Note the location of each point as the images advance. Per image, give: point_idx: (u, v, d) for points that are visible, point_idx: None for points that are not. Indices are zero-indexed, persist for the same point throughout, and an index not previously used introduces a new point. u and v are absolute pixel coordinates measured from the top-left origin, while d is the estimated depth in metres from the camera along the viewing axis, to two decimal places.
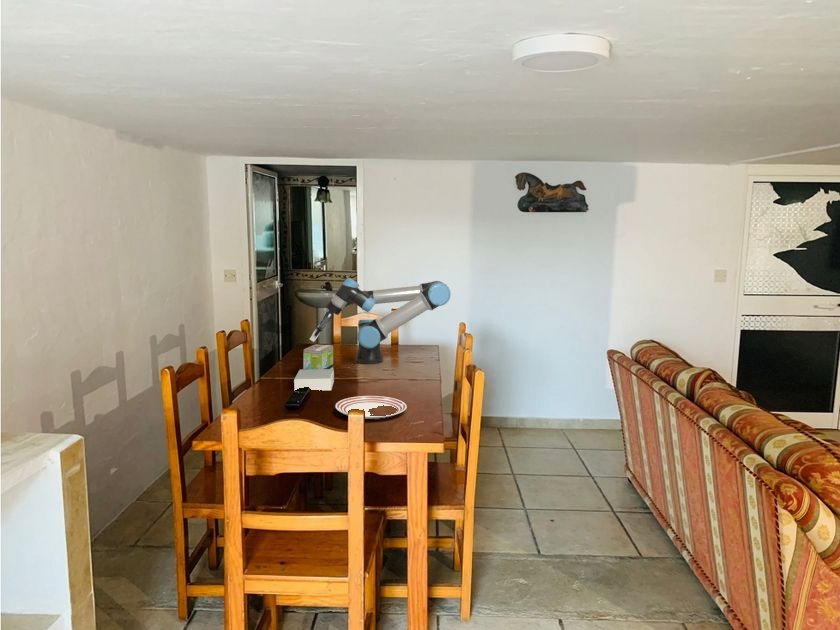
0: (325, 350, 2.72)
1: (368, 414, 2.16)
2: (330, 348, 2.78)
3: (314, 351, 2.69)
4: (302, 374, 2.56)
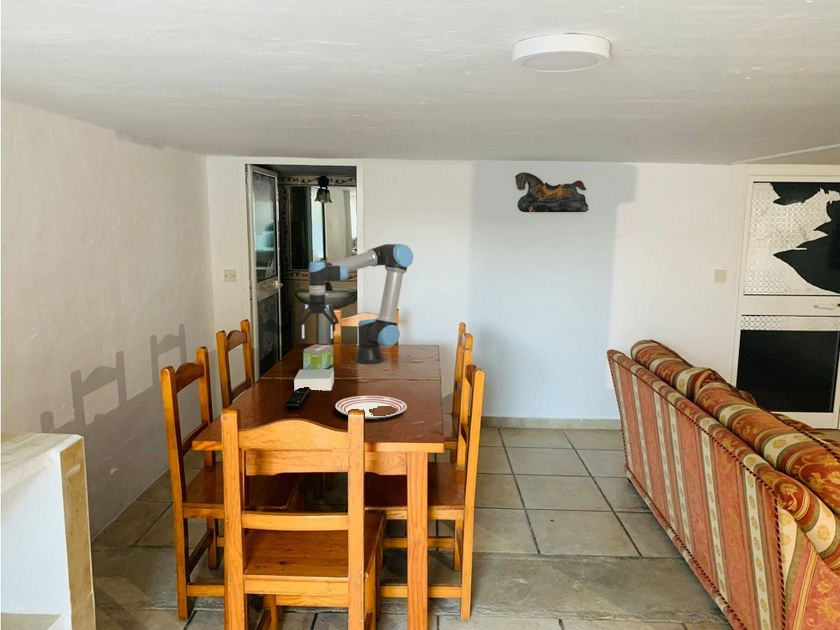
0: (325, 350, 2.72)
1: (368, 414, 2.16)
2: (330, 348, 2.78)
3: (314, 351, 2.69)
4: (302, 374, 2.56)
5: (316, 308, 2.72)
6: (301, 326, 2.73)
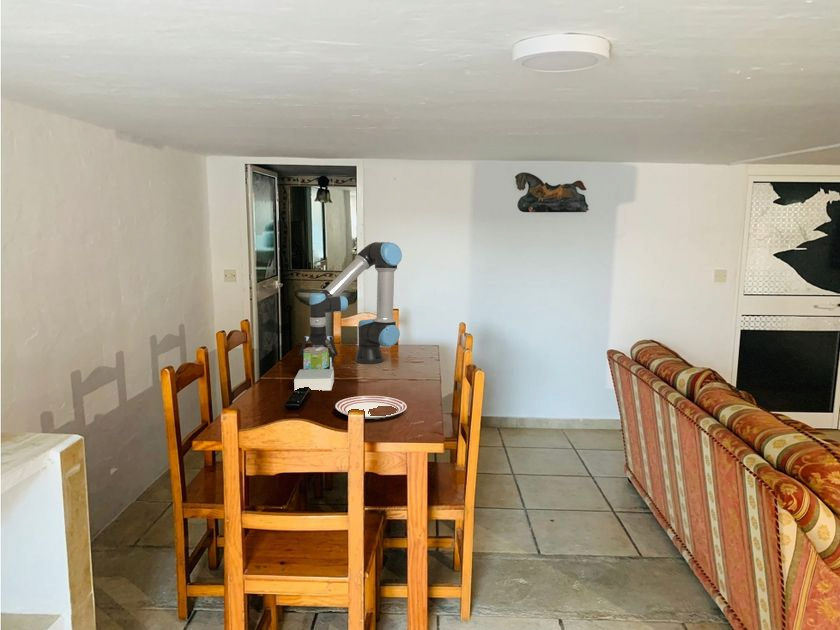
0: (325, 350, 2.72)
1: (368, 414, 2.16)
2: (330, 348, 2.78)
3: (314, 351, 2.69)
4: (302, 374, 2.56)
5: (317, 339, 2.74)
6: None
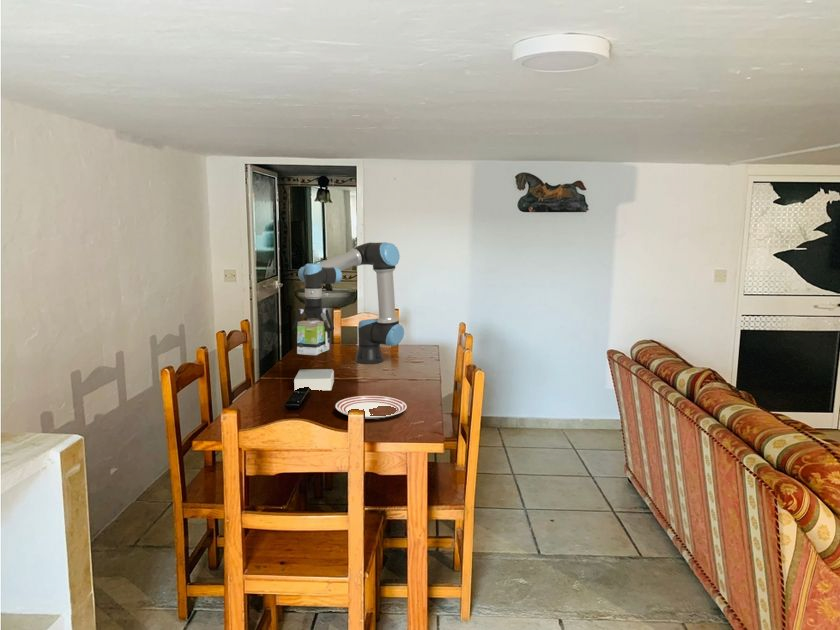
0: (320, 323, 2.56)
1: (368, 414, 2.16)
2: (326, 322, 2.62)
3: (309, 324, 2.53)
4: (302, 374, 2.56)
5: (312, 312, 2.58)
6: None
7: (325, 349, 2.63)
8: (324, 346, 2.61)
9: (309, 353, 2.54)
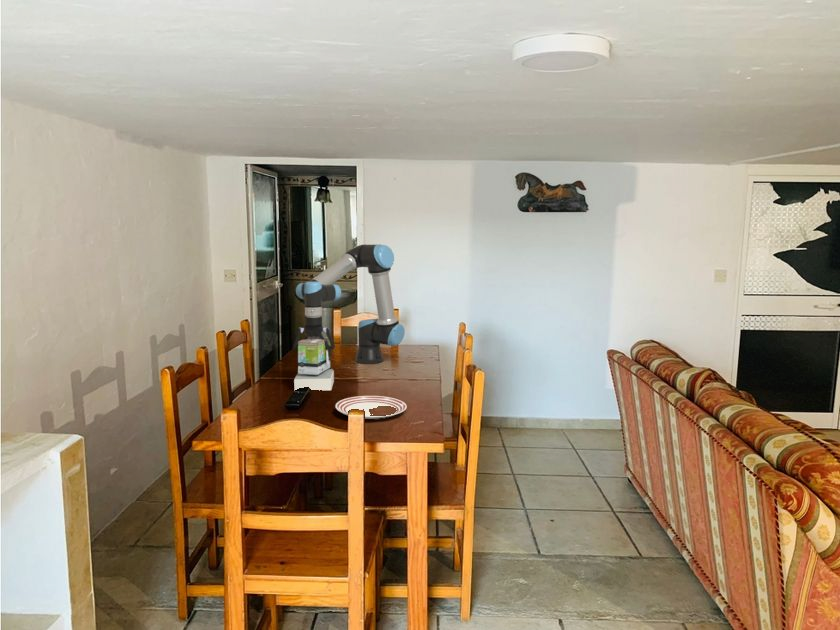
0: (321, 342, 2.53)
1: (368, 414, 2.16)
2: (327, 340, 2.60)
3: (309, 343, 2.50)
4: (302, 374, 2.56)
5: (312, 331, 2.55)
6: None
7: (326, 367, 2.60)
8: (325, 365, 2.59)
9: (310, 373, 2.52)
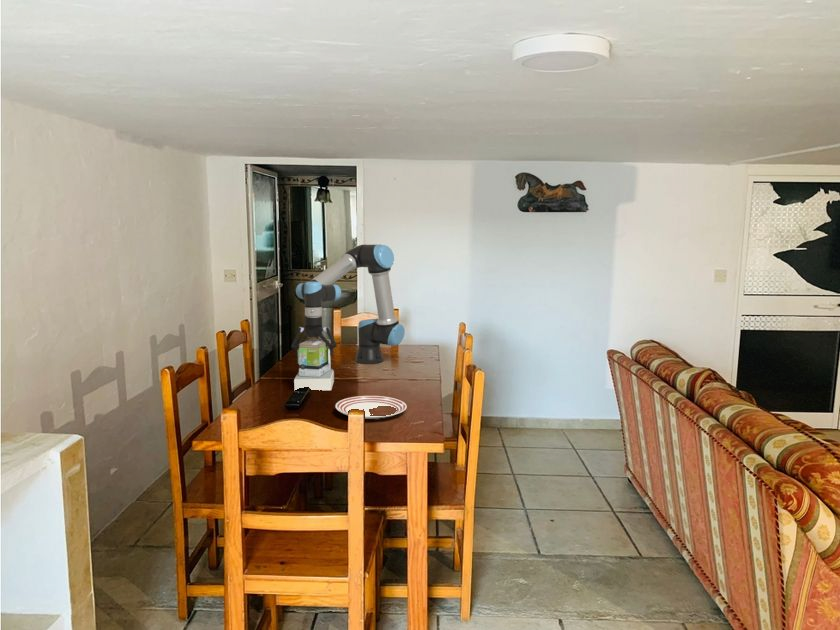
0: (322, 344, 2.53)
1: (368, 414, 2.16)
2: None
3: (311, 345, 2.50)
4: None
5: (312, 331, 2.55)
6: (297, 350, 2.57)
7: (327, 370, 2.60)
8: (326, 367, 2.59)
9: (311, 375, 2.52)
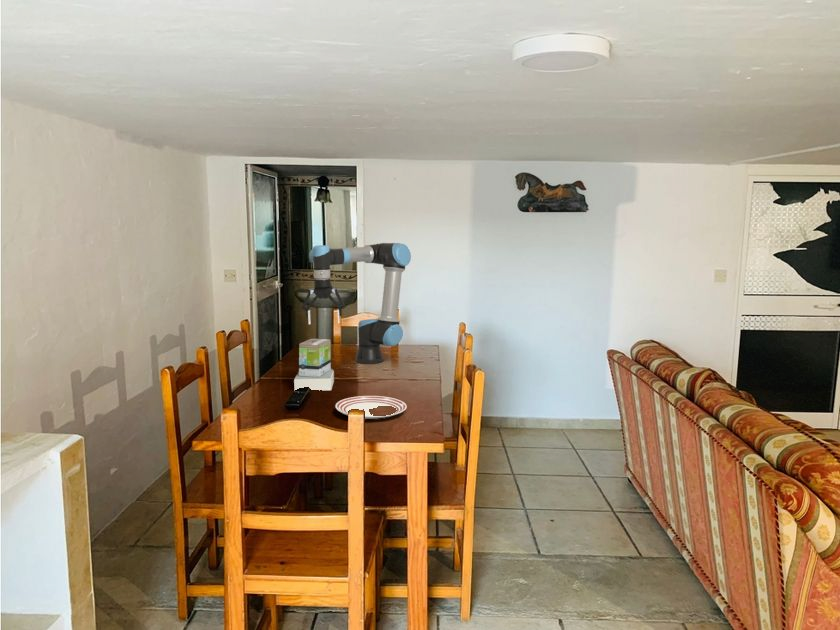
0: (322, 344, 2.53)
1: (368, 414, 2.16)
2: (327, 342, 2.60)
3: (311, 345, 2.50)
4: None
5: (322, 293, 2.66)
6: (307, 312, 2.67)
7: (327, 370, 2.60)
8: (326, 367, 2.59)
9: (311, 375, 2.52)
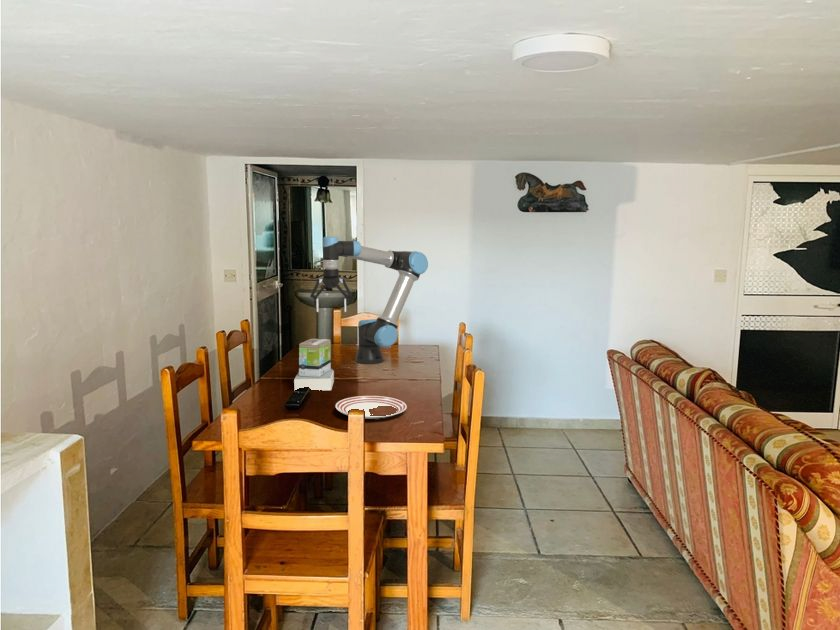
0: (322, 344, 2.53)
1: (368, 414, 2.16)
2: (327, 342, 2.60)
3: (311, 345, 2.50)
4: None
5: (330, 282, 2.79)
6: (315, 300, 2.80)
7: (327, 370, 2.60)
8: (326, 367, 2.59)
9: (311, 375, 2.52)
